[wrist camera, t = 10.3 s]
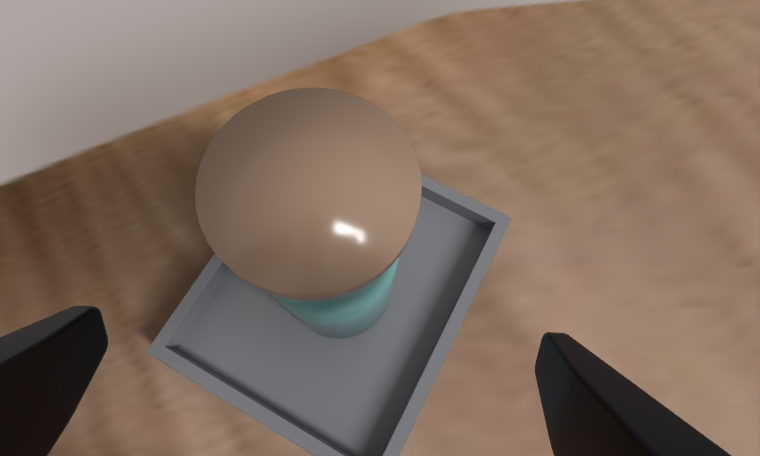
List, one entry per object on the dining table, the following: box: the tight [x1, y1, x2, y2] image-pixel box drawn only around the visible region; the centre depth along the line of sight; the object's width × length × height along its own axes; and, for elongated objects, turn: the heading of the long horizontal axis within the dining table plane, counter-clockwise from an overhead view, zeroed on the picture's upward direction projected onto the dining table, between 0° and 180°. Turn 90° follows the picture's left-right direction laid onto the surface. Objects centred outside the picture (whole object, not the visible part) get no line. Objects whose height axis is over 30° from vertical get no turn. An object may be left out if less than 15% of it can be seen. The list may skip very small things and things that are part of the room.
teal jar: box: [195, 88, 422, 339], centre depth 17 cm, size 5×5×12 cm
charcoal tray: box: [146, 174, 511, 456], centre depth 22 cm, size 14×12×2 cm
